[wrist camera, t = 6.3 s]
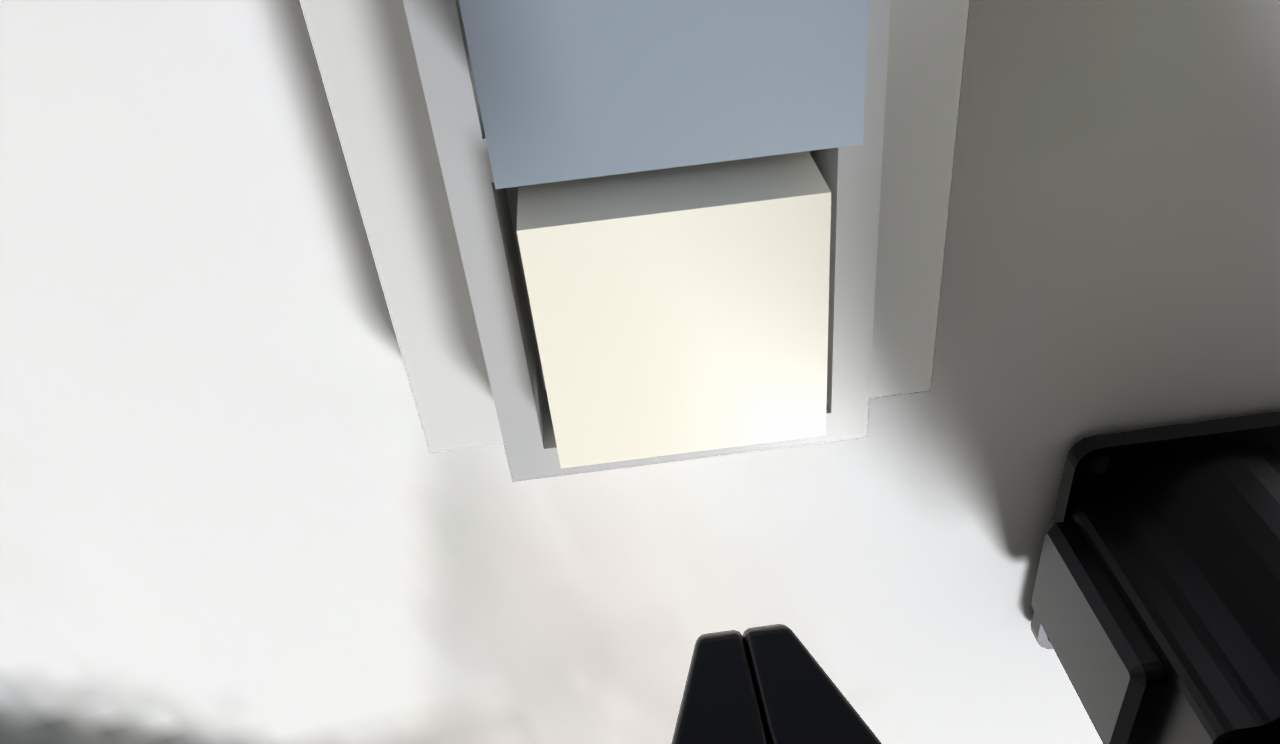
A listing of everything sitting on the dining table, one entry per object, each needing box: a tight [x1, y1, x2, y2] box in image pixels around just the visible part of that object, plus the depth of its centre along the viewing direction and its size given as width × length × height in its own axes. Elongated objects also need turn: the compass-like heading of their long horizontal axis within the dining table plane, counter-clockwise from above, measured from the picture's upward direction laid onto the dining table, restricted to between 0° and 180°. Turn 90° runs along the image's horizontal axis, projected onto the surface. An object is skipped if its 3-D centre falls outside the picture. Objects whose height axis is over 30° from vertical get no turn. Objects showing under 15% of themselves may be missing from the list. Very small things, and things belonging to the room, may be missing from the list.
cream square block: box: [516, 151, 831, 469], centre depth 14 cm, size 4×4×2 cm
